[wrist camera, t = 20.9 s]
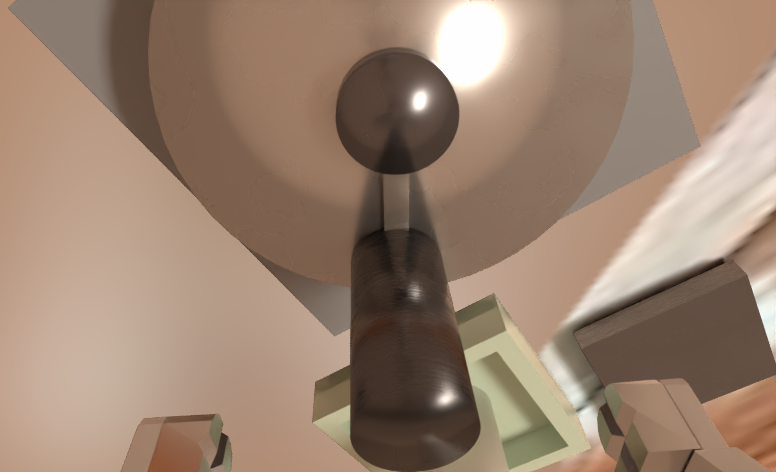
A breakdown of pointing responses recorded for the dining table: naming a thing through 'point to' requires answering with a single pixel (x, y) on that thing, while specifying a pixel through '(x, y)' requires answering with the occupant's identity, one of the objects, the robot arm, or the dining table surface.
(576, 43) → the crank
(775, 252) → the dining table surface
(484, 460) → the pin
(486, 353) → the tray
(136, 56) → the crank base
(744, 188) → the dining table surface
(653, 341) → the socket plate
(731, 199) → the dining table surface
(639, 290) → the dining table surface
